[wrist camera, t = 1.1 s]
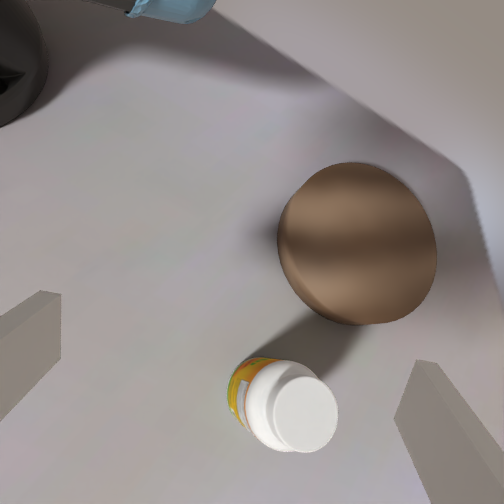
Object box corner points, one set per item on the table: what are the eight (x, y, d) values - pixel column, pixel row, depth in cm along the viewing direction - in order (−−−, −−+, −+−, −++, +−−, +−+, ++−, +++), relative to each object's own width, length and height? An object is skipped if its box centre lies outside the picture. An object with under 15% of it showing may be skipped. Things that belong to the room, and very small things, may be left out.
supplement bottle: (289, 358, 30) (349, 364, 21) (287, 427, 28) (351, 466, 19) (227, 355, 29) (263, 360, 20) (222, 427, 27) (258, 469, 18)
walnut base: (265, 177, 34) (276, 162, 31) (395, 175, 38) (414, 162, 35) (292, 336, 30) (306, 336, 28) (430, 313, 35) (454, 311, 32)
